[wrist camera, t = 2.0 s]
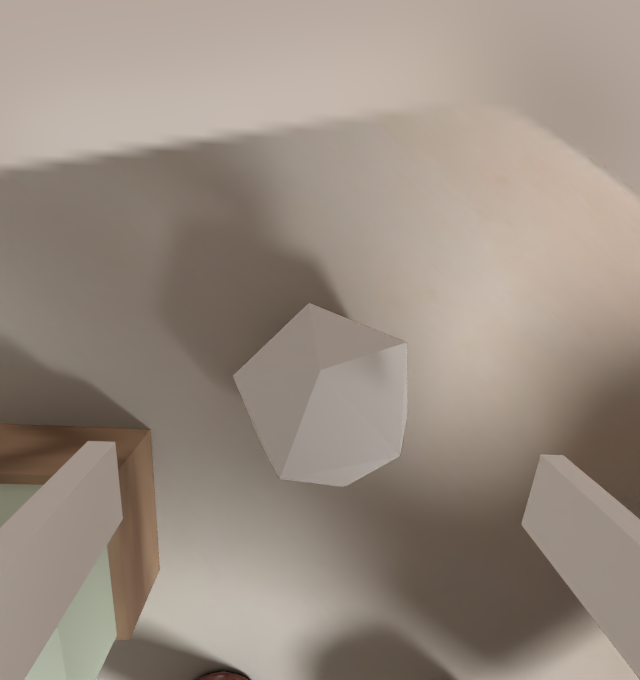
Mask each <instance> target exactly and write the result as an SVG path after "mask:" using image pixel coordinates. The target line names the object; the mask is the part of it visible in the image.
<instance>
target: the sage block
mask: <svg viewBox="0 0 640 680" xmlns="http://www.w3.org/2000/svg"><path fill="white" fill-rule="evenodd" d="M42 486H43V485H32V484H0V527H1V526H3V525H4V524H5V523H6V522H7V521H8V520H9V519H10V518H11V517H12V516H13V515H14V514H15V513H16V512H17V511H18V510H19V509H20V508H21V507H22V506H23V505H24V504H25V503H26V502H27V501H28V500H29V499H30V498H31V497H32V496H33V495H34V494H35V493H36V492H37V491H38V490H39V489H40V488H41V487H42ZM116 636H117V631H116V622H115V613H114V604H113V595H112V586H111V577H110V568H109V559H108V550H107V546H106V547H105V549H104V551H103V552H102V554H101V555H100V557H99V559H98V560H97V562H96V564H95V565H94V567H93V568H92V570H91V572H90V573H89V575H88V577H87V578H86V580H85V581H84V583H83V585H82V586H81V588H80V590H79V591H78V593H77V595H76V596H75V598H74V599H73V601H72V603H71V604H70V606H69V608H68V609H67V611H66V612H65V614H64V616H63V617H62V619H61V621H60V622H59V624H58V626H57V627H56V629H55V630H54V632H53V634H52V635H51V637H50V639H49V640H48V642H47V643H46V645H45V647H44V648H43V650H42V652H41V653H40V655H39V656H38V658H37V660H36V661H35V663H34V665H33V666H32V668H31V670H30V671H29V673H28V674H27V676H26V678H25V679H24V680H96V679H97V677H98V674H99V672H100V670H101V668H102V666H103V664H104V662H105V660H106V657H107V655H108V653H109V651H110V649H111V647H112V645H113V643H114V641H115V638H116Z"/></svg>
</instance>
